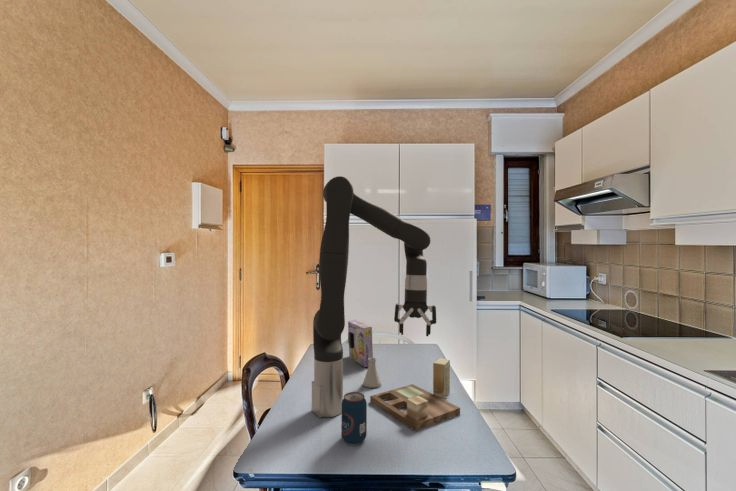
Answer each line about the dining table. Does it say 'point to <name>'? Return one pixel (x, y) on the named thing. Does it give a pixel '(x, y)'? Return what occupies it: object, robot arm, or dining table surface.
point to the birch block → (417, 407)
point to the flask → (372, 375)
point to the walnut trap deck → (399, 396)
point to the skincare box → (441, 378)
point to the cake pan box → (360, 342)
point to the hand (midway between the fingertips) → (414, 335)
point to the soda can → (354, 418)
